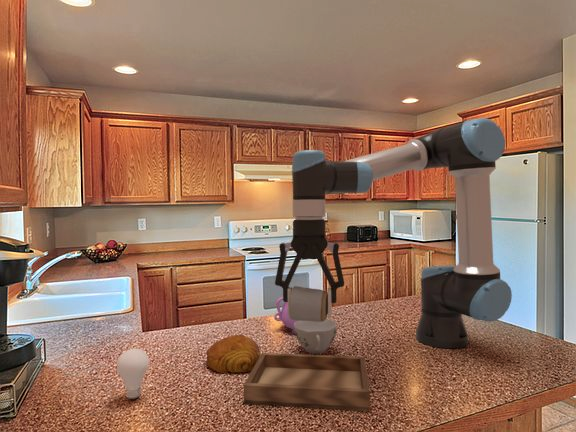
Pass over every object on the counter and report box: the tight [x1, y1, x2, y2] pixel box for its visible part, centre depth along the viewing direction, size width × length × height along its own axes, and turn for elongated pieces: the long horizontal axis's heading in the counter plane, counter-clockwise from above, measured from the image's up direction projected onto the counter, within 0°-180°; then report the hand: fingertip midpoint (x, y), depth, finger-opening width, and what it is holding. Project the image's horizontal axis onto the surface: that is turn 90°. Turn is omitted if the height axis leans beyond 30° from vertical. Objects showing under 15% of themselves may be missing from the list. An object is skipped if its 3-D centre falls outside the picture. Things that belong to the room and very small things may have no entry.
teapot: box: [273, 291, 328, 335], centre depth 132 cm, size 22×16×14 cm
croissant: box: [205, 334, 261, 375], centre depth 104 cm, size 14×16×8 cm
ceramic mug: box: [289, 285, 328, 322], centre depth 90 cm, size 11×8×8 cm
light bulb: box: [116, 347, 150, 400], centre depth 85 cm, size 7×7×11 cm
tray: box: [243, 352, 371, 412], centre depth 89 cm, size 26×18×4 cm
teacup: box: [294, 317, 338, 355], centre depth 111 cm, size 15×12×8 cm
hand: (309, 316), depth 89 cm, fingers closed on ceramic mug, 8 cm apart
